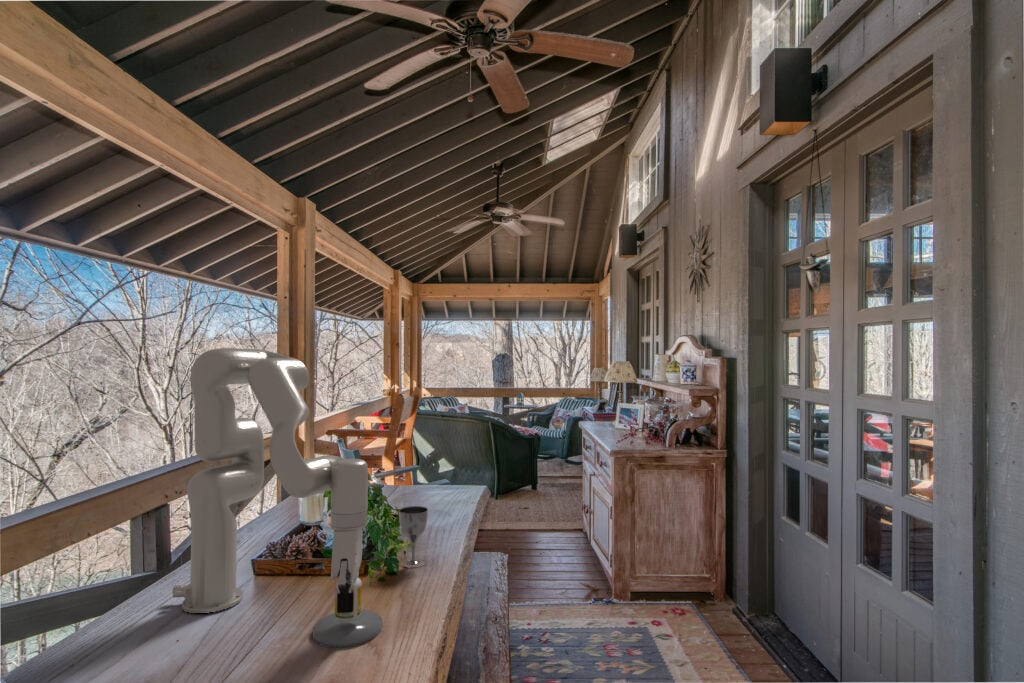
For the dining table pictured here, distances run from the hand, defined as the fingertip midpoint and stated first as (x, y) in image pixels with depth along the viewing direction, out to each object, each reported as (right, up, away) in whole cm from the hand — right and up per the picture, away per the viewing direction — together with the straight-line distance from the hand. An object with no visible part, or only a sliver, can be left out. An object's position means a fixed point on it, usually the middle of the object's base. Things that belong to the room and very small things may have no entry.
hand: (348, 604), depth 115 cm
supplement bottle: (0, -3, 0) cm, 3 cm away
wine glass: (+7, -7, +38) cm, 39 cm away
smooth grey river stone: (0, -5, 0) cm, 5 cm away
